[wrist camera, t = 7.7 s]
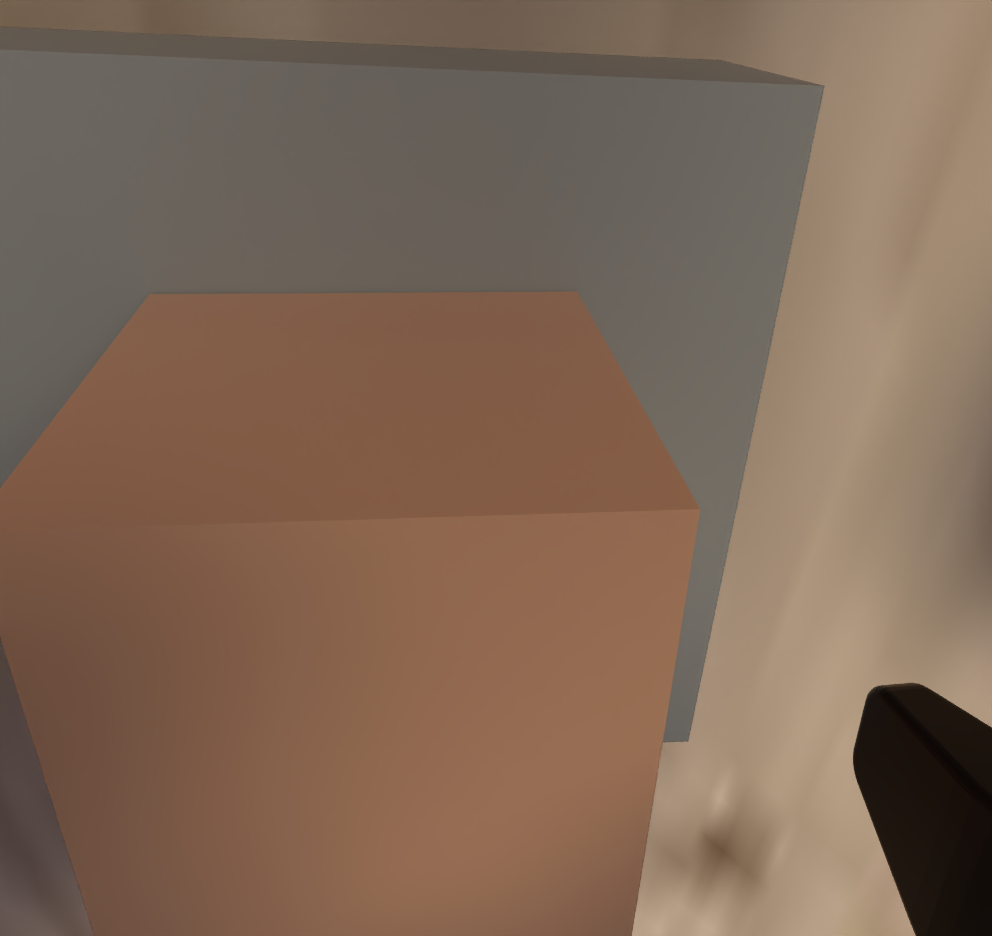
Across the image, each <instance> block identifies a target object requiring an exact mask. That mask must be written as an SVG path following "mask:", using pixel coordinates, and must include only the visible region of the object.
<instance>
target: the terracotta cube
mask: <svg viewBox="0 0 992 936" xmlns="http://www.w3.org/2000/svg"><path fill="white" fill-rule="evenodd" d="M699 514H700V508H699V506H698V504H697V503H696V501H695V499H694V497H693V496H692V494H691V492H690V490H689V488H688V487H687V485H686V483H685V481H684V480H683V478H682V476H681V474H680V473H679V471H678V469H677V467H676V465H675V464H674V462H673V460H672V458H671V457H670V455H669V453H668V451H667V450H666V448H665V446H664V444H663V442H662V441H661V439H660V437H659V435H658V434H657V432H656V430H655V428H654V427H653V425H652V423H651V421H650V419H649V418H648V416H647V414H646V412H645V411H644V409H643V407H642V405H641V404H640V402H639V400H638V398H637V396H636V395H635V393H634V391H633V389H632V388H631V386H630V384H629V382H628V381H627V379H626V377H625V375H624V373H623V372H622V370H621V368H620V366H619V365H618V363H617V361H616V359H615V358H614V356H613V354H612V352H611V350H610V349H609V347H608V345H607V343H606V342H605V340H604V338H603V336H602V335H601V333H600V331H599V329H598V327H597V326H596V324H595V322H594V320H593V319H592V317H591V315H590V313H589V312H588V310H587V308H586V306H585V304H584V303H583V301H582V299H581V297H580V296H579V294H578V292H577V291H564V292H402V293H240V294H149V295H148V297H147V298H146V299H145V301H144V302H143V303H142V304H141V306H140V307H139V308H138V310H137V311H136V312H135V314H134V315H133V316H132V317H131V319H130V320H129V321H128V323H127V324H126V325H125V327H124V328H123V329H122V330H121V332H120V333H119V334H118V336H117V337H116V338H115V340H114V341H113V342H112V343H111V345H110V346H109V347H108V349H107V350H106V351H105V353H104V354H103V355H102V356H101V358H100V359H99V360H98V362H97V363H96V364H95V366H94V367H93V368H92V369H91V371H90V372H89V373H88V375H87V376H86V377H85V379H84V380H83V381H82V382H81V384H80V385H79V386H78V388H77V389H76V390H75V392H74V393H73V394H72V395H71V397H70V398H69V399H68V401H67V402H66V403H65V405H64V406H63V407H62V408H61V410H60V411H59V412H58V414H57V415H56V416H55V418H54V419H53V420H52V421H51V423H50V424H49V425H48V427H47V428H46V429H45V431H44V432H43V433H42V434H41V436H40V437H39V438H38V440H37V441H36V442H35V444H34V445H33V446H32V447H31V449H30V450H29V451H28V453H27V454H26V455H25V457H24V458H23V459H22V460H21V462H20V463H19V464H18V466H17V467H16V468H15V470H14V471H13V472H12V473H11V475H10V476H9V477H8V479H7V480H6V481H5V483H4V484H3V485H2V486H1V488H0V639H1V642H2V645H3V648H4V652H5V655H6V658H7V661H8V664H9V667H10V671H11V674H12V677H13V680H14V683H15V686H16V690H17V693H18V696H19V699H20V702H21V705H22V709H23V712H24V715H25V718H26V721H27V724H28V728H29V731H30V734H31V737H32V740H33V743H34V747H35V750H36V753H37V756H38V759H39V762H40V766H41V769H42V772H43V775H44V778H45V781H46V785H47V788H48V791H49V794H50V797H51V800H52V804H53V807H54V810H55V813H56V816H57V819H58V823H59V826H60V829H61V832H62V835H63V838H64V842H65V845H66V848H67V851H68V854H69V857H70V861H71V864H72V867H73V870H74V873H75V876H76V880H77V883H78V886H79V889H80V892H81V895H82V899H83V902H84V905H85V908H86V911H87V914H88V918H89V921H90V924H91V927H92V930H93V933H94V936H632V930H633V924H634V918H635V911H636V905H637V899H638V893H639V887H640V880H641V874H642V868H643V862H644V855H645V849H646V843H647V837H648V831H649V824H650V818H651V812H652V806H653V800H654V793H655V787H656V781H657V775H658V768H659V762H660V756H661V750H662V744H663V737H664V731H665V725H666V719H667V713H668V706H669V700H670V694H671V688H672V681H673V675H674V669H675V663H676V657H677V650H678V644H679V638H680V632H681V626H682V619H683V613H684V607H685V601H686V594H687V588H688V582H689V576H690V570H691V563H692V557H693V551H694V545H695V539H696V532H697V526H698V520H699Z"/></svg>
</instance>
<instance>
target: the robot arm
mask: <svg viewBox="0 0 992 936" xmlns="http://www.w3.org/2000/svg"><path fill="white" fill-rule="evenodd" d="M853 765H854V772H855V776H856V779H857V782H858V785H859V788H860V790H861V793H862V796H863V798H864V801H865V804H866V806H867V809H868V812H869V814H870V817H871V820H872V822H873V825H874V828H875V830H876V833H877V836H878V838H879V841H880V844H881V846H882V849H883V851H884V854H885V857H886V859H887V862H888V865H889V867H890V870H891V873H892V875H893V878H894V881H895V883H896V886H897V889H898V891H899V894H900V897H901V899H902V902H903V905H904V907H905V910H906V912H907V915H908V918H909V920H910V923H911V925H912V928H913V930H914V933H915V935H916V936H992V727H990V726H988V725H987V724H985V723H984V722H982V721H980V720H979V719H977V718H976V717H974V716H972V715H971V714H969V713H967V712H966V711H964V710H963V709H961V708H959V707H958V706H956V705H955V704H953V703H951V702H950V701H948V700H947V699H945V698H943V697H942V696H940V695H939V694H937V693H935V692H934V691H932V690H931V689H929V688H927V687H925V686H923V685H920V684H917V683H904V684H893V685H881V686H877V687H874V688H873V689H872V690H871V691H870V692H869V694H868V695H867V698H866V701H865V705H864V710H863V714H862V718H861V722H860V726H859V730H858V734H857V738H856V742H855V747H854V752H853Z"/></svg>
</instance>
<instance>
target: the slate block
mask: <svg viewBox="0 0 992 936" xmlns="http://www.w3.org/2000/svg"><path fill="white" fill-rule="evenodd" d="M823 90H824V86H822V85H818V84H814V83H810V82H806V81H802V80H798V79H794V78H790V77H786V76H782V75H778V74H774V73H770V72H766V71H762V70H758V69H754V68H750V67H746V66H742V65H737V64H733V63H729V62H725V61H721V60H702V59H681V58H660V57H638V56H617V55H596V54H574V53H553V52H531V51H510V50H489V49H467V48H446V47H424V46H403V45H382V44H360V43H339V42H318V41H296V40H275V39H253V38H232V37H211V36H189V35H168V34H146V33H125V32H104V31H82V30H61V29H40V28H18V27H0V488H1V486H2V485H3V484H4V483H5V481H6V480H7V479H8V477H9V476H10V475H11V473H12V472H13V471H14V470H15V468H16V467H17V466H18V464H19V463H20V462H21V460H22V459H23V458H24V457H25V455H26V454H27V453H28V451H29V450H30V449H31V447H32V446H33V445H34V444H35V442H36V441H37V440H38V438H39V437H40V436H41V434H42V433H43V432H44V431H45V429H46V428H47V427H48V425H49V424H50V423H51V421H52V420H53V419H54V418H55V416H56V415H57V414H58V412H59V411H60V410H61V408H62V407H63V406H64V405H65V403H66V402H67V401H68V399H69V398H70V397H71V395H72V394H73V393H74V392H75V390H76V389H77V388H78V386H79V385H80V384H81V382H82V381H83V380H84V379H85V377H86V376H87V375H88V373H89V372H90V371H91V369H92V368H93V367H94V366H95V364H96V363H97V362H98V360H99V359H100V358H101V356H102V355H103V354H104V353H105V351H106V350H107V349H108V347H109V346H110V345H111V343H112V342H113V341H114V340H115V338H116V337H117V336H118V334H119V333H120V332H121V330H122V329H123V328H124V327H125V325H126V324H127V323H128V321H129V320H130V319H131V317H132V316H133V315H134V314H135V312H136V311H137V310H138V308H139V307H140V306H141V304H142V303H143V302H144V301H145V299H146V298H147V297H148V295H149V294H240V293H402V292H564V291H577V292H578V294H579V296H580V297H581V299H582V301H583V303H584V304H585V306H586V308H587V310H588V312H589V313H590V315H591V317H592V319H593V320H594V322H595V324H596V326H597V327H598V329H599V331H600V333H601V335H602V336H603V338H604V340H605V342H606V343H607V345H608V347H609V349H610V350H611V352H612V354H613V356H614V358H615V359H616V361H617V363H618V365H619V366H620V368H621V370H622V372H623V373H624V375H625V377H626V379H627V381H628V382H629V384H630V386H631V388H632V389H633V391H634V393H635V395H636V396H637V398H638V400H639V402H640V404H641V405H642V407H643V409H644V411H645V412H646V414H647V416H648V418H649V419H650V421H651V423H652V425H653V427H654V428H655V430H656V432H657V434H658V435H659V437H660V439H661V441H662V442H663V444H664V446H665V448H666V450H667V451H668V453H669V455H670V457H671V458H672V460H673V462H674V464H675V465H676V467H677V469H678V471H679V473H680V474H681V476H682V478H683V480H684V481H685V483H686V485H687V487H688V488H689V490H690V492H691V494H692V496H693V497H694V499H695V501H696V503H697V504H698V506H699V508H700V514H699V520H698V526H697V532H696V539H695V545H694V551H693V557H692V563H691V570H690V576H689V582H688V588H687V594H686V601H685V607H684V613H683V619H682V626H681V632H680V638H679V644H678V650H677V657H676V663H675V669H674V675H673V681H672V688H671V694H670V700H669V706H668V713H667V719H666V725H665V731H664V737H663V742H683V741H688V740H689V735H690V730H691V725H692V720H693V716H694V711H695V706H696V701H697V696H698V692H699V687H700V682H701V677H702V672H703V667H704V663H705V658H706V653H707V648H708V643H709V639H710V634H711V629H712V624H713V619H714V615H715V610H716V605H717V600H718V595H719V590H720V586H721V581H722V576H723V571H724V566H725V562H726V557H727V552H728V547H729V542H730V537H731V533H732V528H733V523H734V518H735V513H736V509H737V504H738V499H739V494H740V489H741V484H742V480H743V475H744V470H745V465H746V460H747V456H748V451H749V446H750V441H751V436H752V432H753V427H754V422H755V417H756V412H757V407H758V403H759V398H760V393H761V388H762V383H763V379H764V374H765V369H766V364H767V359H768V354H769V350H770V345H771V340H772V335H773V330H774V326H775V321H776V316H777V311H778V306H779V302H780V297H781V292H782V287H783V282H784V277H785V273H786V268H787V263H788V258H789V253H790V249H791V244H792V239H793V234H794V229H795V224H796V220H797V215H798V210H799V205H800V200H801V196H802V191H803V186H804V181H805V176H806V172H807V167H808V162H809V157H810V152H811V147H812V143H813V138H814V133H815V128H816V123H817V119H818V114H819V109H820V104H821V99H822V94H823Z"/></svg>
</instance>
